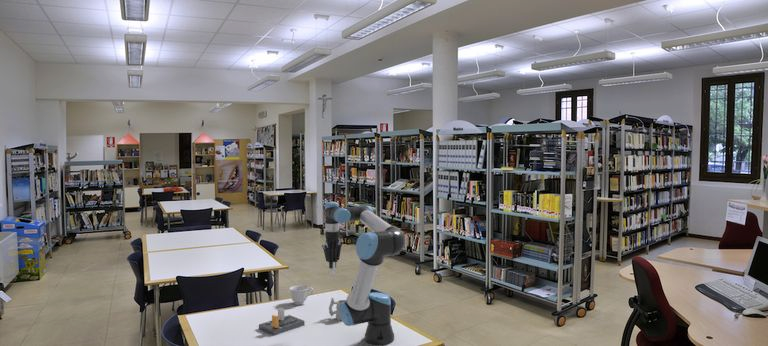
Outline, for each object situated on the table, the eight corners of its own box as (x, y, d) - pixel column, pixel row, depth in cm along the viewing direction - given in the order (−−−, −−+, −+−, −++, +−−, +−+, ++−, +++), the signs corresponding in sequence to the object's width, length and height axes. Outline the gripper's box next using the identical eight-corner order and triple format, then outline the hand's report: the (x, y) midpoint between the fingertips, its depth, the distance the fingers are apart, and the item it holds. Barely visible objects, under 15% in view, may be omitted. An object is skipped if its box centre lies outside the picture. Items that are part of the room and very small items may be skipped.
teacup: (313, 305, 292) (313, 289, 292) (289, 307, 290) (288, 291, 290) (313, 299, 304) (313, 284, 304) (290, 300, 302) (290, 285, 302)
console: (304, 325, 259) (304, 320, 259) (273, 335, 245) (273, 330, 245) (289, 319, 269) (289, 314, 269) (258, 329, 254) (258, 324, 254)
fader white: (284, 319, 260) (284, 308, 260) (281, 320, 259) (281, 309, 258) (280, 318, 263) (280, 307, 262) (277, 319, 261) (277, 308, 261)
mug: (347, 321, 265) (347, 300, 265) (327, 320, 267) (327, 299, 266) (350, 316, 273) (350, 296, 272) (330, 315, 274) (330, 295, 274)
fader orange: (278, 327, 249) (278, 315, 249) (275, 328, 248) (275, 316, 248) (274, 325, 252) (274, 314, 251) (272, 326, 250) (271, 314, 250)
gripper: (336, 228, 261) (337, 270, 262) (318, 231, 252) (319, 275, 253) (345, 230, 256) (346, 272, 257) (327, 233, 247) (328, 277, 248)
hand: (332, 273), depth 255 cm, fingers closed
